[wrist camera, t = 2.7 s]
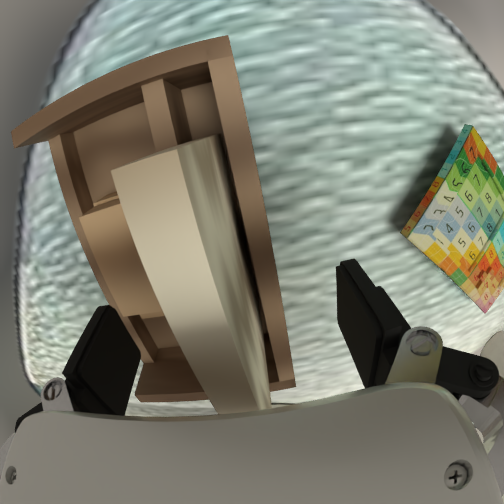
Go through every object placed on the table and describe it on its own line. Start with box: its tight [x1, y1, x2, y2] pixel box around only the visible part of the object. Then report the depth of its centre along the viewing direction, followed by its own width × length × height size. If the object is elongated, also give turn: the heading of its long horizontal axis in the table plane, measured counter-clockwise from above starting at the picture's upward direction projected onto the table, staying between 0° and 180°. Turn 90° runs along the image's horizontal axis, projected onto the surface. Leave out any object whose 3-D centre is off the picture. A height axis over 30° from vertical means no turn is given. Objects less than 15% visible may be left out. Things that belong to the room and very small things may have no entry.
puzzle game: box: [400, 124, 504, 313], centre depth 21 cm, size 12×5×20 cm
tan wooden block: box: [79, 191, 165, 319], centre depth 19 cm, size 10×5×5 cm, turn 11°
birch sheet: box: [111, 133, 272, 415], centre depth 14 cm, size 14×2×14 cm, turn 11°
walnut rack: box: [11, 35, 296, 402], centre depth 19 cm, size 24×14×7 cm, turn 11°
